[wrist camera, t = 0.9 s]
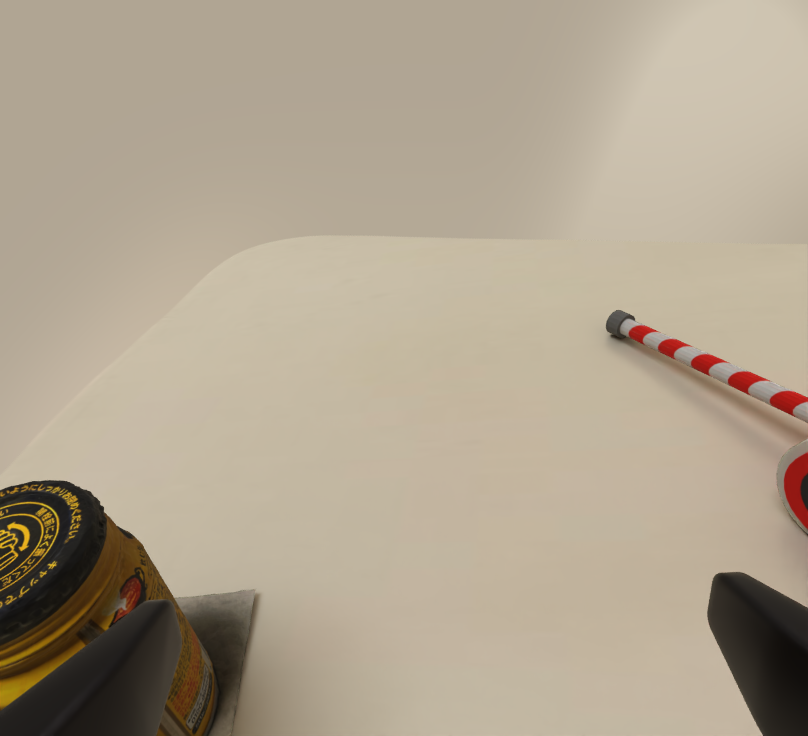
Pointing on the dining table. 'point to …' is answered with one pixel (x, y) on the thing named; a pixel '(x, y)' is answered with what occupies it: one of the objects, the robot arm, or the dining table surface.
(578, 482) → the dining table surface
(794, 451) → the toy hammer
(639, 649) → the dining table surface
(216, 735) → the condiment
